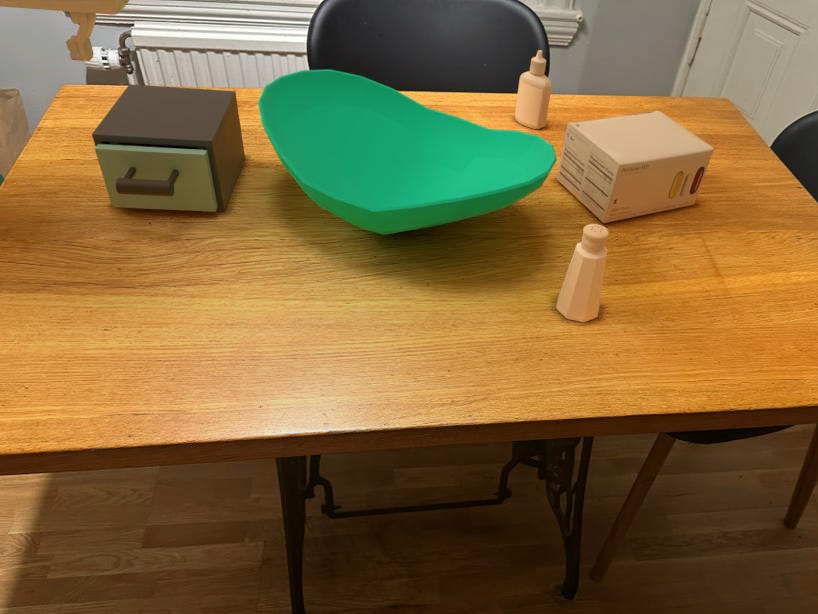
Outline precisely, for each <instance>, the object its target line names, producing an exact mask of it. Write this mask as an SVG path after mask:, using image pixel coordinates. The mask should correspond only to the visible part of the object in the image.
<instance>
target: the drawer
mask: <svg viewBox="0 0 818 614" xmlns="http://www.w3.org/2000/svg"><path fill="white" fill-rule="evenodd" d="M94 151H95V154H96V158H97V162H98V164H99V169H100V171H101V175H102V178H103V181H104V184H105V188H106V191H107V194H108V197H109V201H110V204H111V208H127V209H128V208H129V209H145V210H166V211H167V210H168V211H169V210H170V211H186V212H187V211H188V212H189V211H190V212H191V211H192V212H209V213H211V212H213V213H216V212H217V211H216V210H217V208H218V206H217V200H216V195H215V190H214V184H213V179H212V174H211V168H210V163H209V158H208V152H207V150H206V147H191V146H173V145H155V144H137V143H120V142H110V145H105V144H98V145H97V146H94Z"/></svg>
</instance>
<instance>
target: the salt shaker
mask: <svg viewBox="0 0 818 614" xmlns="http://www.w3.org/2000/svg"><path fill="white" fill-rule="evenodd" d="M582 233H583V234H582V235H581V241H580V242H577V243H576V245H575V248H574V251H573V254H572V257H571V260H570V262H569V265H568V268H567V271H566V274H565V277H564V279H563V283H562V285H561V289H560V291H559V294H558V297H557V300H556V304H555V309H556V310H557V311H558V312H559V314H561V315H562V316H563V317H564V318H565V319H566V320H570V321H573V322H574V321H575V322H580V323H586V322H588V321H591V320H595V319H597V318H598V316H599V311H600V304H601V298H602V290H603V284H604V277H605V270H606V264H607V256H608V248H607V247H606V244H607V241H608V237H609V235H610V232H609V230H608V228H606V227H605V226H603V225H602V224H597V223H588V224H587V225H585V226H584V227H583V228H582Z"/></svg>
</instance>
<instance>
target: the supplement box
mask: <svg viewBox="0 0 818 614" xmlns="http://www.w3.org/2000/svg"><path fill="white" fill-rule="evenodd" d="M714 150H715V148H714V147H713V146H711V145H710V144H709V143H707V142H706V141H704V140H703V139H702V138H700V137H699V136H697V135H696V134H694V133H693V132H691V131H690V130H688V129H687V128H685V127H684V126H683V125H681V124H679V122H677V121H675V120H674V119H672V118H671V117H670V116H668V115H666V114H665V113H663V112H662V111H660V110H653V111H647V112H641V113H632V114H626V115H619V116H611V117H604V118H603V117H602V118H598V119H597V118H596V119H589V120H582V121H569V122H567V124H566V129H565V134H564V139H563V144H562V149H561V154H560V159H559V164H558V169H557V174H556V178H555V179H556V180H557V181H558V182H559V183H560V184H561V185H562V186H563V187H565V189H567V191H569V192H570V194H572V195H573V196H574V197H575V198H576V199H577V200H578V201H579V202H580V203H581V204H582V205H583V206H585V207H586V208H587V209H588V210H589V212H591V213H592V214H593V216H595V217H596V218H597V219H598V220H599V221H600V222H601V223H603V224H606V223H612V222H616V221H622V220H626V219H627V220H628V219H630V218H636V217H641V216H646V215H650V214H655V213H660V212H665V211H671V210H676V209H679V208H684V207H690V206H694V205H695V203H696V200H697V198H698V195H699V192H700V190H701V188H702V184H703V180H704V178H705V175H706V173H707V170H708V167H709V164H710V162H711V158H712V155H713V153H714Z"/></svg>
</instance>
